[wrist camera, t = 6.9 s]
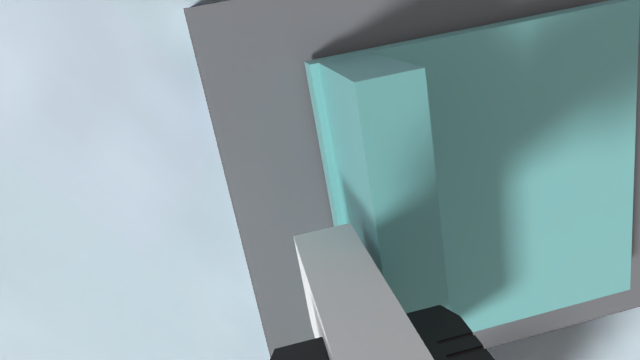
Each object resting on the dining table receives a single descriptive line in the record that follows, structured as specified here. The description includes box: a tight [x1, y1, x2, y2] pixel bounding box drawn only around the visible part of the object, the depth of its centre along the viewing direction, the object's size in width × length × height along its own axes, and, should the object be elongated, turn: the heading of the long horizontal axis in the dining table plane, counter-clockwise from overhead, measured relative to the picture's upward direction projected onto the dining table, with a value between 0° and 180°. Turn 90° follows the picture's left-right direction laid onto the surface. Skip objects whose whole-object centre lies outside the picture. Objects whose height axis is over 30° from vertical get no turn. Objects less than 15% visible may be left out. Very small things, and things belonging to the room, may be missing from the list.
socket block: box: [184, 0, 640, 358], centre depth 19 cm, size 20×14×2 cm
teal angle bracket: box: [304, 0, 640, 332], centre depth 15 cm, size 10×10×5 cm
